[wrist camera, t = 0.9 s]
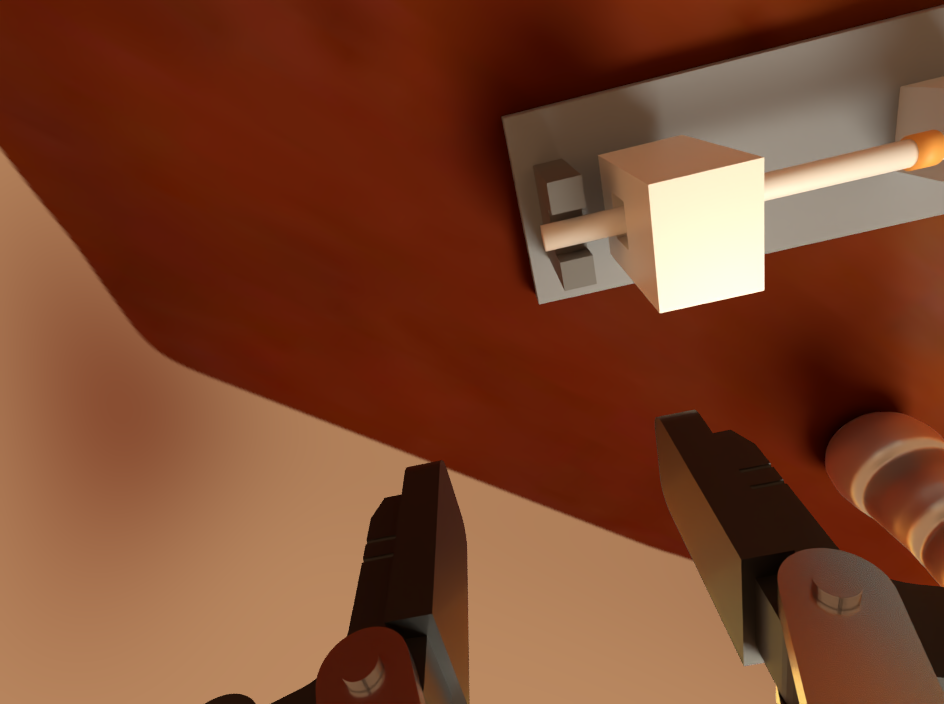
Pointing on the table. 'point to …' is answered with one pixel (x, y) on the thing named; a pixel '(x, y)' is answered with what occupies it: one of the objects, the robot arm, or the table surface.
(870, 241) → the table surface
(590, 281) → the rod slider fixture
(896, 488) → the plastic bottle
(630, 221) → the sleeve
